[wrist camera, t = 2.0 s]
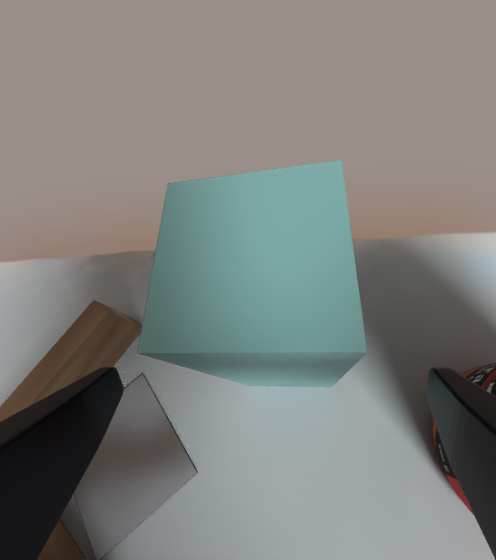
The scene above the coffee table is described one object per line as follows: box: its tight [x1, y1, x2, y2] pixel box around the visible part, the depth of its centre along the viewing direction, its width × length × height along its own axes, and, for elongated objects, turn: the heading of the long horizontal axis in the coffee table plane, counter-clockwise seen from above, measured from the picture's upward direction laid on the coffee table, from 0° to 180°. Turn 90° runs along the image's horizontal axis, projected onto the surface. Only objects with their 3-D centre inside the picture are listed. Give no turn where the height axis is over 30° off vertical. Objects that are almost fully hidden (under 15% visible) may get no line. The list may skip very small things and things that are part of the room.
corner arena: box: [0, 300, 198, 560], centre depth 16 cm, size 13×13×4 cm
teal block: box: [138, 160, 367, 387], centre depth 13 cm, size 5×5×12 cm
